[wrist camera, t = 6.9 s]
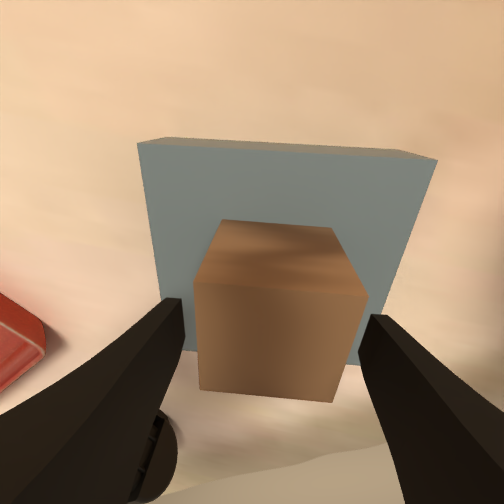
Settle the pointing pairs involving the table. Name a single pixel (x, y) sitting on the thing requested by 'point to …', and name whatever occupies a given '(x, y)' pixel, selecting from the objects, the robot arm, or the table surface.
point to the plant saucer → (18, 341)
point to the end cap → (155, 462)
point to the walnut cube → (275, 311)
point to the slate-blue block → (280, 206)
